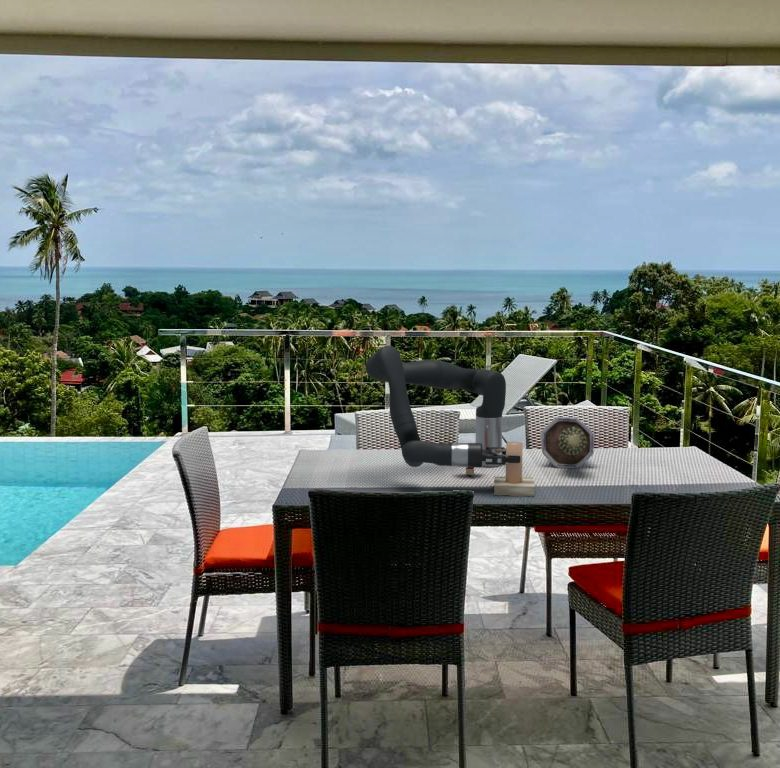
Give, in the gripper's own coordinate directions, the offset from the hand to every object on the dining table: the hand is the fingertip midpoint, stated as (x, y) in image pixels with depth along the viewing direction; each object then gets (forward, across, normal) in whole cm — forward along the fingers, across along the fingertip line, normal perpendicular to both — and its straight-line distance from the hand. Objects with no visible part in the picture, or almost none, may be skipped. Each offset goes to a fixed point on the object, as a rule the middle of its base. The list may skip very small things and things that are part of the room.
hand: (519, 456), depth 259 cm
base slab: (-2, 0, +11) cm, 11 cm away
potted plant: (+17, +33, +11) cm, 39 cm away
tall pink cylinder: (-2, 0, +8) cm, 8 cm away
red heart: (-16, +18, +11) cm, 26 cm away
